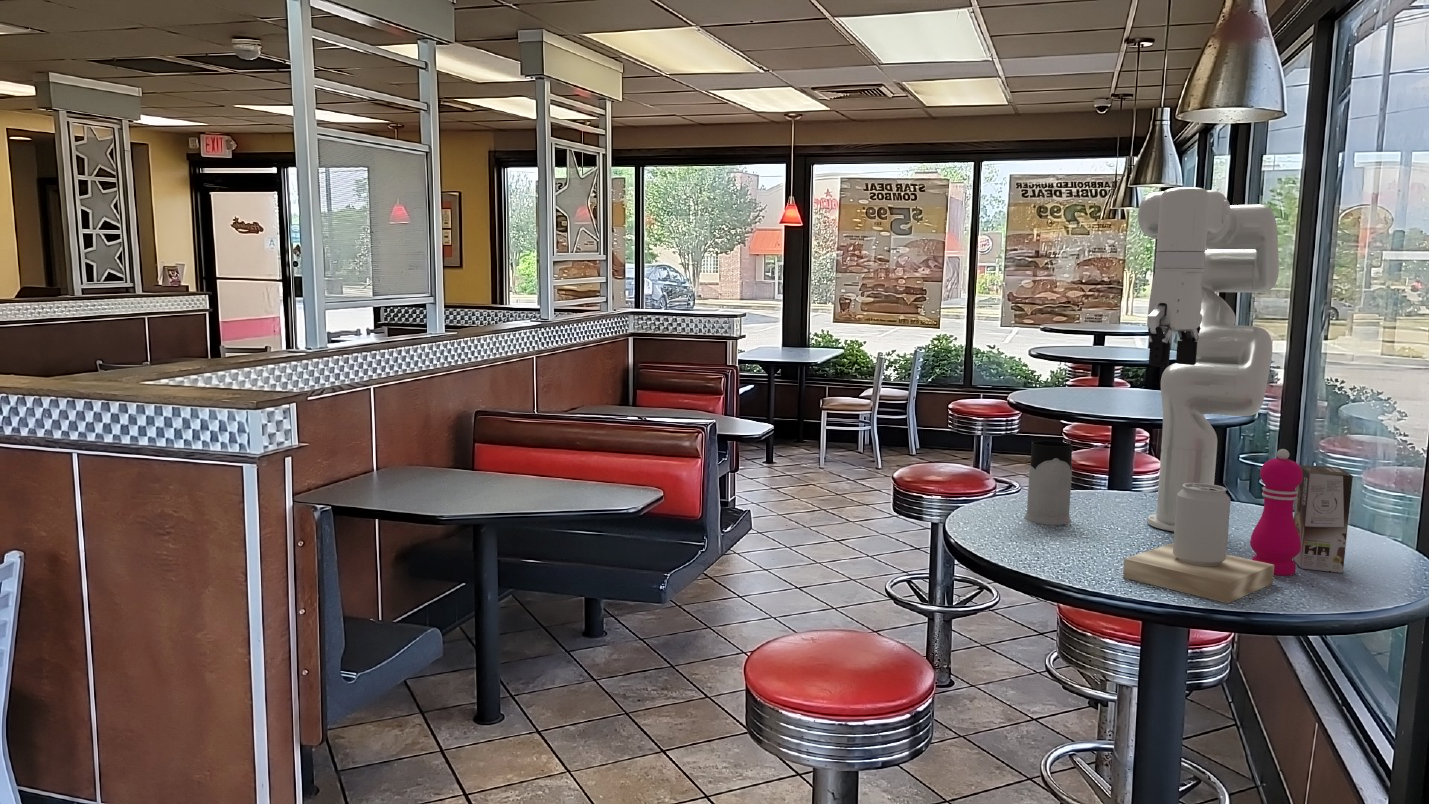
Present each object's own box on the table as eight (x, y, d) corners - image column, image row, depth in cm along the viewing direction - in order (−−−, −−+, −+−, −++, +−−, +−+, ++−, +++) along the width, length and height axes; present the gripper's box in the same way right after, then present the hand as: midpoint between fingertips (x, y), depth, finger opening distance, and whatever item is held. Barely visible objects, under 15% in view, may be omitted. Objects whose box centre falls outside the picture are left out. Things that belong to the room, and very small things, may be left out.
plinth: (1170, 560, 168) (1172, 543, 168) (1272, 583, 156) (1274, 564, 156) (1122, 577, 158) (1124, 558, 158) (1228, 603, 146) (1229, 583, 146)
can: (1231, 569, 153) (1237, 491, 151) (1178, 565, 154) (1184, 488, 153) (1217, 556, 160) (1223, 482, 159) (1167, 553, 162) (1172, 479, 160)
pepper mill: (1239, 563, 168) (1249, 444, 165) (1283, 564, 167) (1294, 446, 165) (1261, 576, 160) (1272, 452, 158) (1307, 577, 160) (1319, 453, 158)
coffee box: (1345, 573, 163) (1354, 475, 161) (1299, 569, 165) (1308, 472, 163) (1332, 559, 171) (1341, 466, 169) (1289, 555, 173) (1297, 463, 171)
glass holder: (1029, 523, 193) (1033, 446, 191) (1014, 507, 207) (1018, 435, 205) (1076, 525, 192) (1081, 448, 190) (1058, 509, 206) (1063, 436, 204)
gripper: (1181, 264, 177) (1174, 362, 179) (1132, 262, 165) (1125, 365, 168) (1225, 264, 171) (1217, 365, 173) (1178, 261, 160) (1170, 369, 162)
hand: (1172, 365), depth 170 cm, fingers open, 9 cm apart
